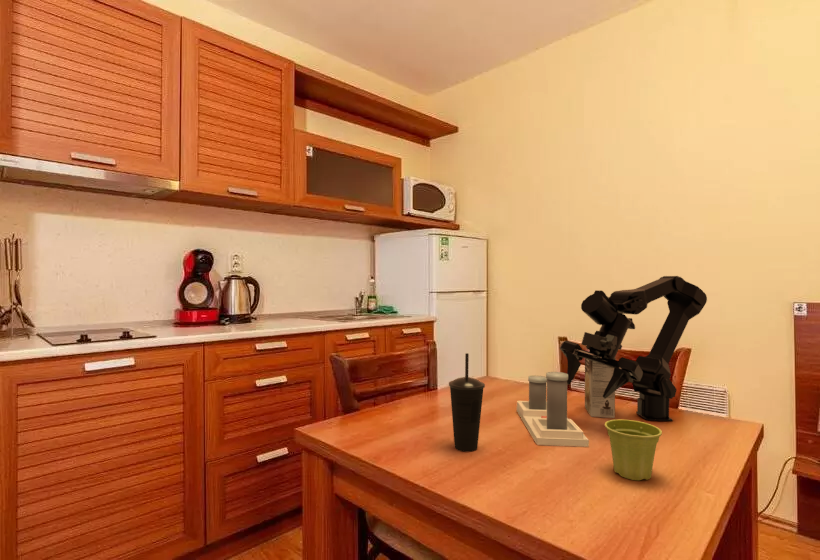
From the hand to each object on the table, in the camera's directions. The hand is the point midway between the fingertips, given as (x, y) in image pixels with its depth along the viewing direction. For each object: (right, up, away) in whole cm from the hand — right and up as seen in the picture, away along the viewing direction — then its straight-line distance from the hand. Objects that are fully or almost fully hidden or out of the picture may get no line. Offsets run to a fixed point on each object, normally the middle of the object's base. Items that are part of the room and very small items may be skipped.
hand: (585, 390), depth 104 cm
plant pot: (-1, -10, -23) cm, 25 cm away
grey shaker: (-8, -8, -5) cm, 13 cm away
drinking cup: (-30, -9, -11) cm, 34 cm away
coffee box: (+10, -10, +15) cm, 20 cm away
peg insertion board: (-8, -10, +3) cm, 13 cm away
